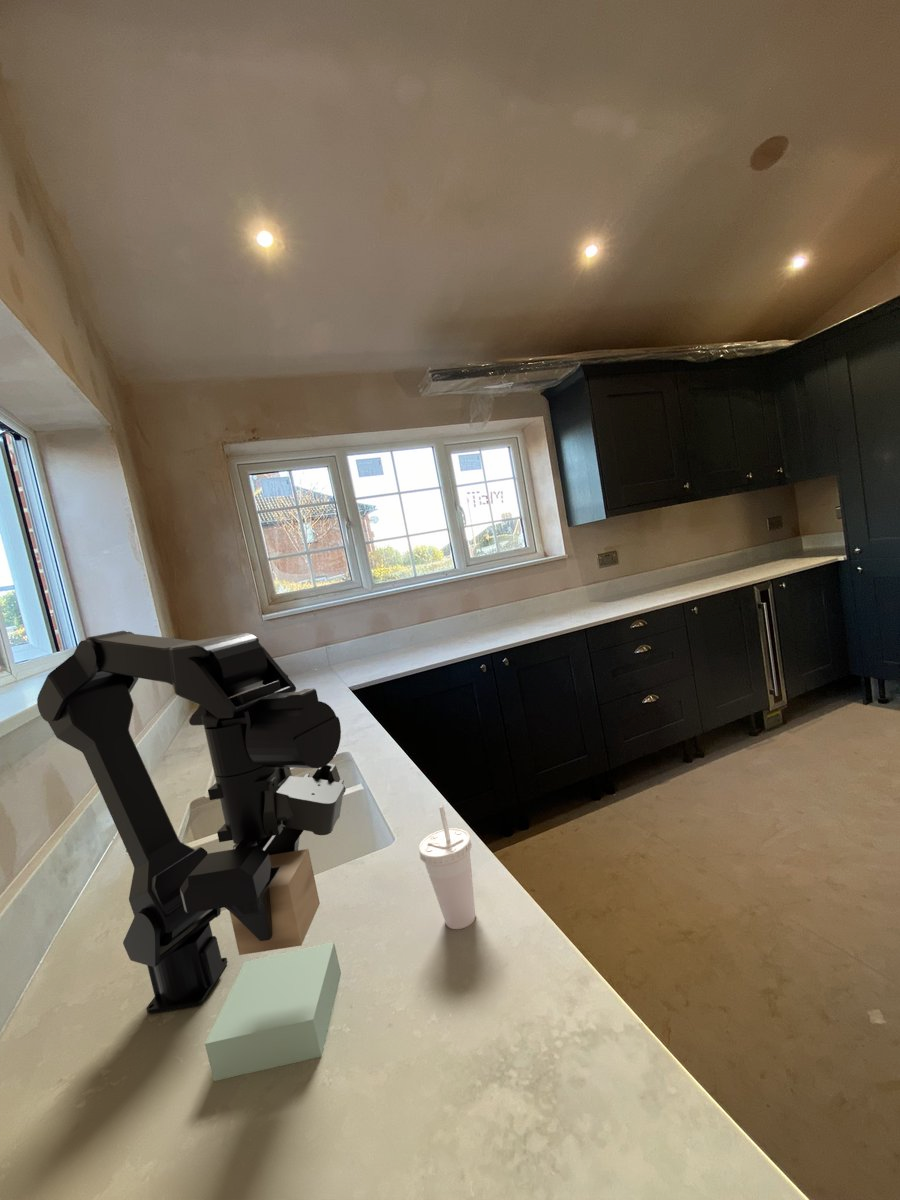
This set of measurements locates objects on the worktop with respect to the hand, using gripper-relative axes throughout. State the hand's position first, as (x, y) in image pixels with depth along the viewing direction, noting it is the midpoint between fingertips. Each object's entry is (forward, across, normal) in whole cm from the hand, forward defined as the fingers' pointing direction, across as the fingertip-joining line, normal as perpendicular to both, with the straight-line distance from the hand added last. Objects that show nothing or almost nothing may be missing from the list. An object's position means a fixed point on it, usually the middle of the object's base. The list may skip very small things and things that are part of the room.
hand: (278, 916), depth 51 cm
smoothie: (+11, +11, -16) cm, 23 cm away
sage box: (+12, 0, +2) cm, 12 cm away
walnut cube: (+1, 0, 0) cm, 1 cm away
